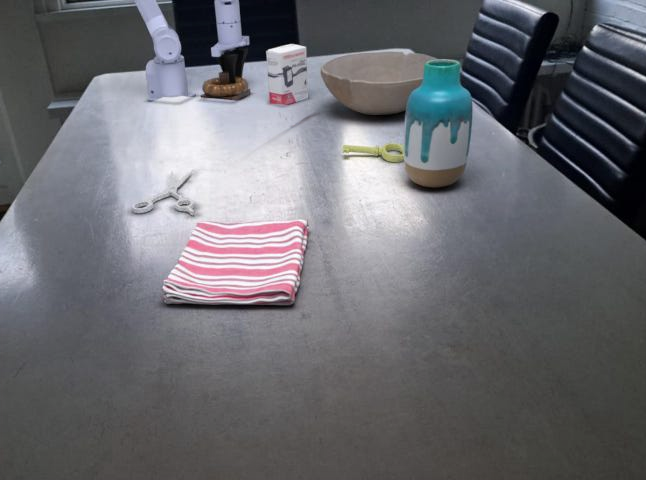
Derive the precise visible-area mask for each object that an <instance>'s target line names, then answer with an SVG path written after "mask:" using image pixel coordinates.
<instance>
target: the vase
mask: <svg viewBox="0 0 646 480" xmlns="http://www.w3.org/2000/svg"><path fill="white" fill-rule="evenodd" d="M472 97H473V96H472V95H471V93H470V91H469V90H468V89H467V88H465V87H464V86H463V85H462V84H461V62H460V61H459V60H455V59H448V58H437V59H436V60H430V61H427V62H426V63H425V65H424V73H423V80H422V84H421V86H420V87H418V88H417V89H415V90H413V92H412V93H411V94H410V96H409V98H408V102H407V107H406V110H405V114H404V126H403V146H404V160H403V166H404V170H405V173H406V175H407V176H408V178H409V179H410V180H411V181H412V182H413V183H415V184H416V185H418V186H421V187H427V188H442V187H447V186H450V185H453V184H454V183H455V182H457V181H458V180H459V179H461V177H462V175H463V174H464V171H465V169H466V167H467V162H468V158H469V153H470V145H471V139H472V138H471V137H472V128H473V98H472Z"/></svg>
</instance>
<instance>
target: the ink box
mask: <svg viewBox="0 0 646 480" xmlns="http://www.w3.org/2000/svg"><path fill="white" fill-rule="evenodd" d="M265 54H266V67H267V68H266V69H267V83H268V95H269V104H271V105H282V106H288V105H291V104H295V103H298V102H302V101H304V100H308V99H309V90H308V89H309V88H308V59H307V58H308V57H307V54H308V53H307V46H304V45H301V44H300V45H299V44H295V43H289V44H284V45H280V46H276V47H273V48H269V49H267V50H266V51H265Z"/></svg>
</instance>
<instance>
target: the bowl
mask: <svg viewBox="0 0 646 480" xmlns="http://www.w3.org/2000/svg"><path fill="white" fill-rule="evenodd" d="M436 59H438V58H437V57H434V56H431V55H428V54H424V53H418V52H417V53H416V52H409V53H407V54H405V53H404V52H403V51H377V52H375V51H374V52H360V53H359V52H358V53H353V54H346V55H341V56H338V57H335V58H333V59H331V60H329V61H327V62H325V63H324V64H323V65H321V67H320V77H321V79H322V81H323V83H324V85H325V87H326V88H327V90H328V91H329V93H330V94H331V95H332V96H333V97H334V98H335V99H336V100H337V101H338V102H339V103H341V104H342V105H344V106H345V107H346V108H347V109H350V110H353V111H355V112H357V113H360V114H363V115H368V116H369V115H370V116H388V115H395V114H399V113H403V112H406V107H407V102H408V98H409V96H410V94H411V93H412V92H413V90H415V89H417V88H418V87H420V86H421V84H422V80H423V73H424V65H425V63H426V62H427V61H430V60H436Z"/></svg>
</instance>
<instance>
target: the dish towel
mask: <svg viewBox="0 0 646 480" xmlns="http://www.w3.org/2000/svg"><path fill="white" fill-rule="evenodd" d="M309 230H310V225H309V220H308V219H306V218H305V219H302V218H301V219H293V220H265V221H261V220H260V221H259V220H254V221H241V222H240V221H234V222H222V221H214V220H199V221H197V222H196V225H195V226H194V228H193V230H192V231H191V234H190V236H189V238H188V242H187V244H186V246H185V247H184V249H183V250H182V252H181V253H180V257H179V259H178V263H177V264H175V266H174V267H173V268H172V270H171V271H170V273H169V274H168V276H167V278H166V279H164V280H163V281H162V283H163V285H162V287H161V291H162V292H163V293H164V294H163V298H164V303H165V304H167V305H170V304H173V305H181V304H191V305H192V304H193V305H251V306H252V305H256V306H257V305H258V306H259V305H262V306H265V305H267V306H268V305H269V306H272V305H273V306H291V305H292V304H294V302H295V300H296V297H295V296H296V295H295V294H297V292H298V289H299V286H300V283H301V272H302V269H303V265H304V260H305V258H304V256H305V255H304V254H305V251H306V248H307V244H308V232H309Z"/></svg>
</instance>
